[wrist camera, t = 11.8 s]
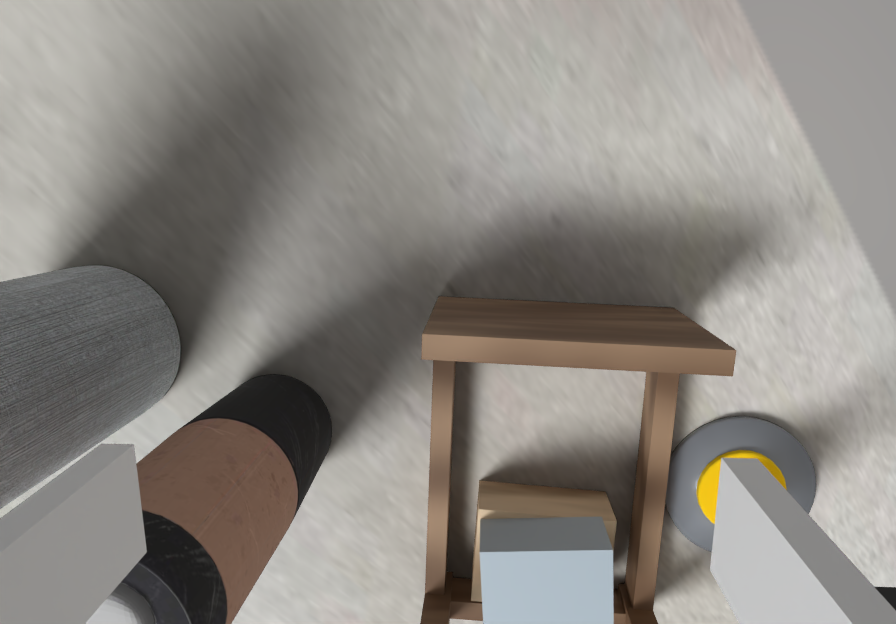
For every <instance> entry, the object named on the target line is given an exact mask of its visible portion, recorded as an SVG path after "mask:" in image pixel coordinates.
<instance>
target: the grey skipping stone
mask: <svg viewBox="0 0 896 624" xmlns="http://www.w3.org/2000/svg"><path fill="white" fill-rule="evenodd" d="M736 450H750V451H754V452H757V453H760V454H762V455H764V456H766V457H767V458H769V459H771V460H772V461H773V462H774V464H775V465H776V466H777V467H778V468H779V469H780V470H781V472H782V474H783V476H784V478H785V482H786V489H787V492H788V493H789V494H790V495H791V496H792V497H793V498H794V499H795V500H796V501H797V503H798V504H799V505H800V506H801V507H802V508H803V509H804V510H805V511H806V512H807V514H809V512H810V510H811V507H812V505H813V501H814V497H815V491H816V476H815V471H814V467H813V464H812V462H811V459H810V457H809V455H808V453H807V452H806V450H805V449H804V448H803V446H802V445H801V444H800V443H799V442H798V441H797V440H796V439H795V438H794V437H793V436H792V435H791V434H790V433H788V432H787V431H785V430H784V429H783V428H781V427H779V426H778V425H776V424H774V423H771V422H769V421H766V420H763V419H759V418H755V417H746V416H735V417H727V418H723V419H719V420H715V421H712V422H710V423H707V424H705V425H703V426H701V427H699V428H698V429H696V430H695V431H693V432H692V433H690V434H689V435H688V436H687V437H686V438H685V439H684V440H683V441H682V442H681V443H680V444H679V445H678V446H677V447H676V449H675V450H674V452H673V453H672V455H671V457H670V464H669V472H668V481H667V490H666V499H665V505H666V508H667V510H668V513H669V515H670V517H671V519H672V520H673V522H674V524H675V525H676V527H677V528H678V529H679V530H680V532H681V533H682V534H683V535H684V536H685V537H686V538H687V539H688V540H690V541H691V542H693V543H694V544H695V545H697V546H699V547H701V548H703V549H705V550H708V551H710V552H712V545H713V536H714V526H715V524H713V523H712V522H711V521H710V520H709V519H708V518H707V517H706V516H705V515H704V513H703V511H702V509H701V507H700V506H699V504H698V499H697V494H696V491H697V482H698V480H699V477H700V475H701V473H702V471H703V470H704V469H705V467H706V466H707V465H708V464H709V463H710V462H711V461H712V460H714V459H715V458H716V457H718V456H720V455H722V454H725V453H727V452H731V451H736Z"/></svg>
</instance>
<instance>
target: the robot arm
mask: <svg viewBox="0 0 896 624" xmlns="http://www.w3.org/2000/svg"><path fill="white" fill-rule="evenodd" d="M146 552H147V548H146V540H145V532H144V523H143V515H142V507H141V498H140V490H139V482H138V473H137V465H136V457H135V448H134V444H100V445H99V446H98V447H96V448H95V449H94V450H92V451H91V452H90V453H88V454H87V455H86V456H84V457H83V458H81V459H80V460H79V461H77V462H76V463H75V464H73V465H72V466H71V467H69V468H68V469H67V470H65V471H64V472H63V473H61V474H60V475H58V476H57V477H56V478H54V479H53V480H52V481H50V482H49V483H48V484H46V485H45V486H44V487H42V488H41V489H40V490H38V491H37V492H35V493H34V494H33V495H31V496H30V497H29V498H27V499H26V500H25V501H23V502H22V503H21V504H19V505H18V506H16V507H15V508H14V509H12V510H11V511H10V512H8V513H7V514H6V515H4V516H3V517H2V518H0V624H85V623H86V622H87V621H88V620H89V618H90V617H91V616H92V615H93V614H94V613H95V611H96V610H97V609H98V608H99V607H100V606H101V605H102V603H103V602H104V601H105V600H106V599H107V598H108V596H109V595H110V594H111V593H112V592H113V591H114V589H115V588H116V587H117V586H118V585H119V584H120V583H121V581H122V580H123V579H124V578H125V577H126V576H127V574H128V573H129V572H130V571H131V570H132V569H133V567H134V566H135V565H136V564H137V563H138V562H139V561H140V559H141V558H142V557H143V556H144V555H145V554H146ZM710 571H711V573H712V574H713V576H714V578H715V580H716V582H717V584H718V585H719V587H720V589H721V591H722V593H723V595H724V596H725V598H726V600H727V602H728V604H729V606H730V607H731V609H732V611H733V613H734V615H735V617H736V618H737V620H738V622H739V624H896V588H895V587H874V586H873V585H872V584H871V583H870V582H869V581H868V580H867V578H866V577H865V576H864V575H863V574H862V573H861V572H860V571H859V570H858V569H857V567H856V566H855V565H854V564H853V563H852V562H851V561H850V560H849V559H848V558H847V556H846V555H845V554H844V553H843V552H842V551H841V550H840V549H839V548H838V547H837V545H836V544H835V543H834V542H833V541H832V540H831V539H830V538H829V537H828V536H827V534H826V533H825V532H824V531H823V530H822V529H821V528H820V527H819V526H818V525H817V523H816V522H815V521H814V520H813V519H812V518H811V517H810V516H809V515H808V514H807V512H806V511H805V510H804V509H803V508H802V507H801V506H800V505H799V504H798V503H797V501H796V500H795V499H794V498H793V497H792V496H791V495H790V494H789V493H788V492H787V490H786V489H785V488H784V487H783V486H782V485H781V484H780V483H779V482H778V481H777V479H776V478H775V477H774V476H773V475H772V474H771V473H770V472H769V471H768V470H767V468H766V467H765V466H764V465H763V464H762V463H761V462H760V461H759V460H758V459H757V458H721V466H720V476H719V486H718V496H717V506H716V516H715V526H714V536H713V545H712V555H711V565H710Z"/></svg>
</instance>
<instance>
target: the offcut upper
mask: <svg viewBox="0 0 896 624" xmlns="http://www.w3.org/2000/svg"><path fill="white" fill-rule="evenodd" d="M480 570H481V590H482V610H483V624H614V607H613V548H612V545H611V542H610V539H609V536H608V534H607V531H606V528H605V525H604V522H603V519H602V517H553V518H504V519H480Z"/></svg>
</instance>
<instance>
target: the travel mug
mask: <svg viewBox="0 0 896 624" xmlns="http://www.w3.org/2000/svg"><path fill="white" fill-rule="evenodd" d="M331 437H332V426H331V419H330V415H329V412H328V410H327V407H326V406H325V404H324V402H323V401H322V399H321V398H320V396H319V395H318V394H317V393H316V392H315V391H314V390H313V389H312V388H310V387H309V386H308V385H306V384H305V383H303V382H301V381H299V380H297V379H295V378H292V377H289V376H284V375H264V376H259V377H256V378H253V379H251V380H249V381H247V382H245V383H244V384H242V385H241V386H239V387H238V388H236V389H235V390H233V391H232V392H230V393H229V394H228V395H226V396H225V397H223V398H222V399H221V400H219V401H218V402H216V403H215V404H214V405H212V406H211V407H209V408H208V409H207V410H205V411H204V412H202V413H201V414H200V415H198V416H197V417H195V418H194V419H193V420H191V421H190V422H188V423H187V424H186V425H184V426H183V427H181V428H180V429H179V430H177V431H176V432H175V433H173V434H172V435H171V436H170V437H168V438H167V439H166V440H165V441H164V442H162V443H161V444H160V445H159V446H158V447H156V448H155V449H154V450H153V451H151V452H150V453H149V454H148V455H147V456H145V457H144V458H143V459H142V460H141V461H139V462H138V463H137V464H136V465H137V473H138V482H139V490H140V498H141V507H142V515H143V523H144V532H145V540H146V548H147V552H146V554H145V555H144V556H143V557H142V558H141V559H140V561H139V562H138V563H137V564H136V565H135V566H134V567H133V569H132V570H131V571H130V572H129V573H128V574H127V576H126V577H125V578H124V579H123V580H122V581H121V583H120V584H119V585H118V586H117V587H116V588H115V589H114V591H113V592H112V593H111V594H110V595H109V596H108V598H107V599H106V600H105V601H104V602H103V603H102V605H101V606H100V607H99V608H98V609H97V610H96V611H95V613H94V614H93V615H92V616H91V617H90V618H89V620H88V621H87V622H86V623H85V624H231V623H232V621H233V620H234V618H235V616H236V615H237V613H238V611H239V610H240V608H241V606H242V605H243V603H244V601H245V600H246V598H247V596H248V595H249V593H250V591H251V590H252V588H253V586H254V585H255V583H256V581H257V580H258V578H259V576H260V575H261V573H262V571H263V570H264V568H265V566H266V565H267V563H268V561H269V560H270V558H271V556H272V555H273V553H274V551H275V550H276V548H277V546H278V545H279V543H280V541H281V540H282V538H283V536H284V535H285V533H286V531H287V530H288V528H289V526H290V524H291V523H292V521H293V519H294V517H295V515H296V513H297V511H298V509H299V507H300V505H301V503H302V501H303V499H304V497H305V495H306V493H307V492H308V490H309V488H310V486H311V484H312V482H313V480H314V478H315V476H316V474H317V472H318V470H319V468H320V466H321V464H322V462H323V460H324V458H325V456H326V454H327V451H328V449H329V446H330V442H331Z"/></svg>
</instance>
